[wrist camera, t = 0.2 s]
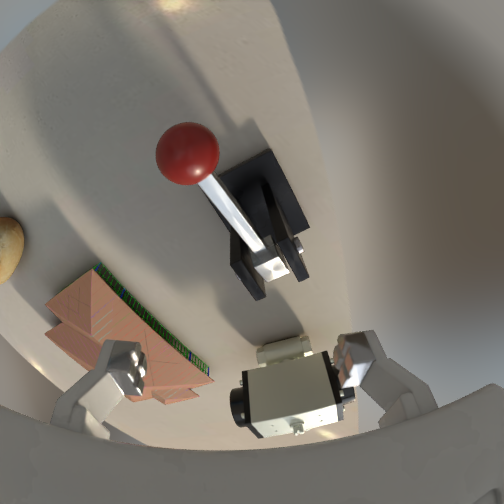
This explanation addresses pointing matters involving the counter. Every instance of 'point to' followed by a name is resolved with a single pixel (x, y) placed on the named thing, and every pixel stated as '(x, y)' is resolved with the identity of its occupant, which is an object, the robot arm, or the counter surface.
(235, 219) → the lever
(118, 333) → the house
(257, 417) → the ball valve
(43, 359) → the counter surface
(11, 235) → the bread roll
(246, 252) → the bracket
